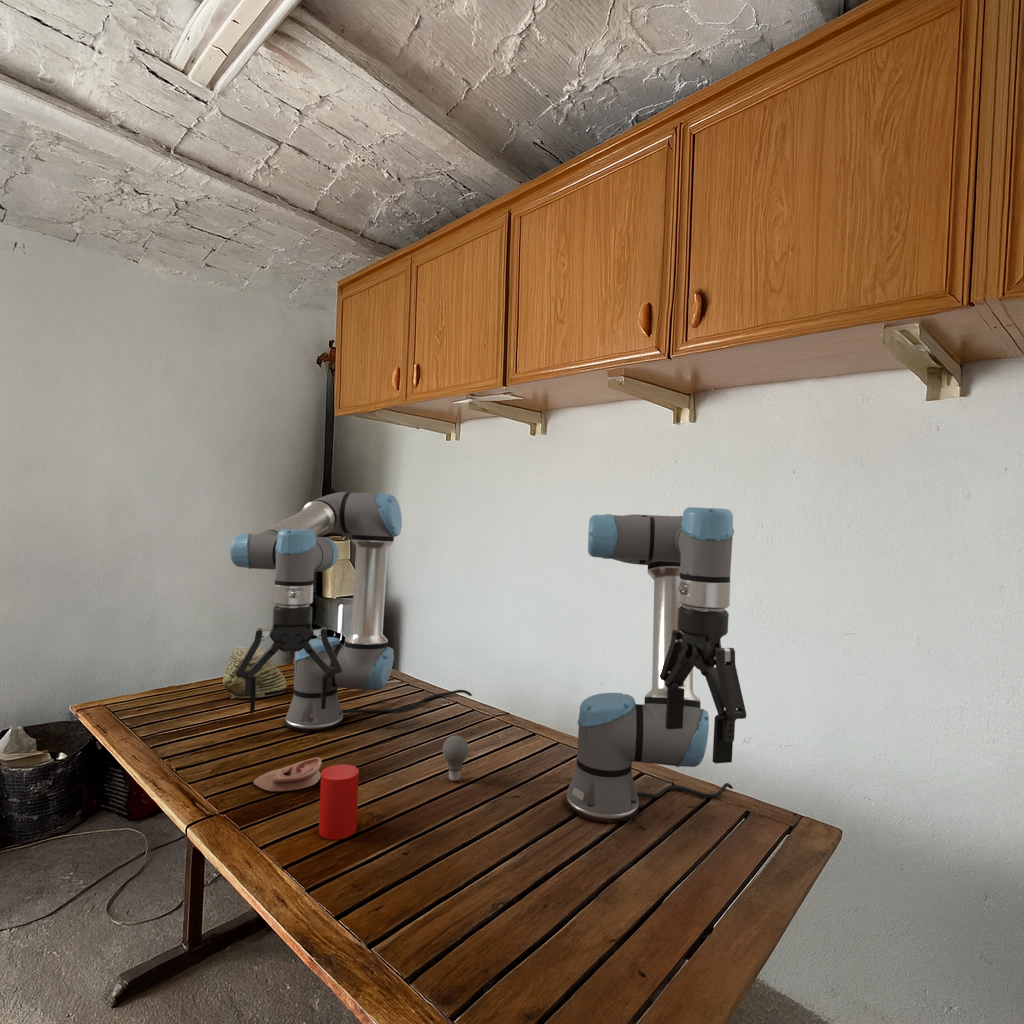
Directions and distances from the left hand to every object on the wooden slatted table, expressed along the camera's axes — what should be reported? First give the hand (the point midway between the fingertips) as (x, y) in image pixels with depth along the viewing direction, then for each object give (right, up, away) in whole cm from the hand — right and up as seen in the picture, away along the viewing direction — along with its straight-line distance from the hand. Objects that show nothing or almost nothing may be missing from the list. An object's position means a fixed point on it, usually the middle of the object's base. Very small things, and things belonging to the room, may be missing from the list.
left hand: (288, 709), depth 129 cm
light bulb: (+32, -21, +15) cm, 41 cm away
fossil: (-35, -17, +69) cm, 79 cm away
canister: (+12, -21, -8) cm, 25 cm away
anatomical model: (-4, -20, +11) cm, 23 cm away
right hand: (+74, +4, -31) cm, 80 cm away
